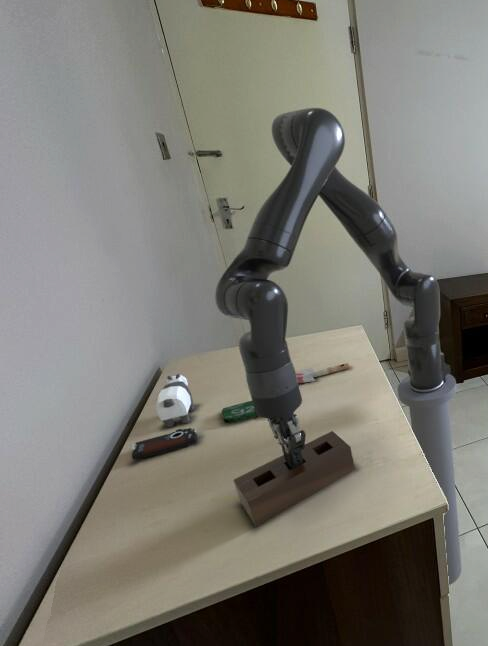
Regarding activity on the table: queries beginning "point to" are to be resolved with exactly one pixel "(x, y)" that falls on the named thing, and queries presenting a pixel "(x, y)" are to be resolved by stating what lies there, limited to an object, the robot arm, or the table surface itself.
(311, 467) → the pen stand
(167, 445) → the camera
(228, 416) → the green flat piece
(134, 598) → the table surface
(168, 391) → the giant panda
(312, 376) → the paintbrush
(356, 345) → the table surface
